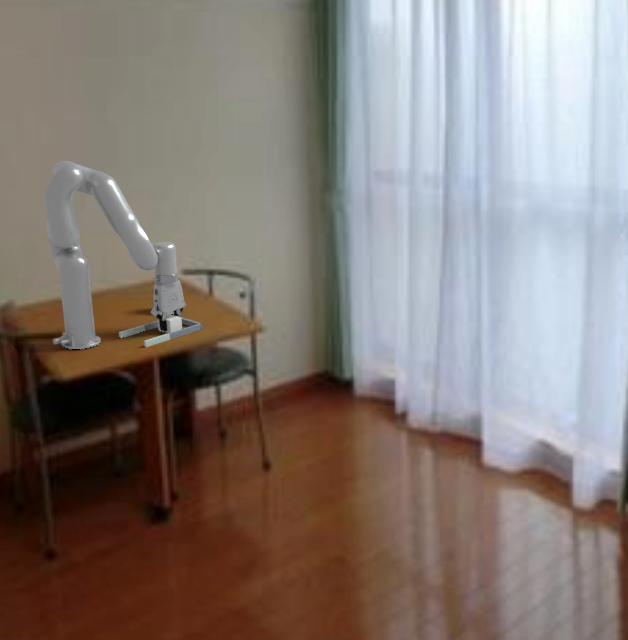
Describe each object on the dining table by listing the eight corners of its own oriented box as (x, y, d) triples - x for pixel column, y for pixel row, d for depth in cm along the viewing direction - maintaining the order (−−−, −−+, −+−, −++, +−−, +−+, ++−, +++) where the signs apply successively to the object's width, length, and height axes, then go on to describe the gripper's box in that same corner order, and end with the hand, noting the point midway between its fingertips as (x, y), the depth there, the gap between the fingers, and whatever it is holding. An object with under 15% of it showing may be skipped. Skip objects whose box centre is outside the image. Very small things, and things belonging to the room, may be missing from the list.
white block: (170, 334, 291) (169, 320, 289) (158, 330, 296) (157, 317, 294) (182, 331, 294) (181, 317, 293) (169, 327, 299) (168, 313, 297)
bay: (146, 347, 279) (145, 341, 278) (119, 337, 289) (118, 332, 288) (202, 329, 296) (202, 323, 295) (175, 320, 306) (175, 315, 305)
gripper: (153, 285, 281) (157, 337, 286) (192, 275, 293) (196, 324, 298) (139, 281, 286) (143, 332, 291) (179, 271, 297) (182, 320, 303)
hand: (170, 328), depth 295 cm, fingers closed on white block, 5 cm apart
